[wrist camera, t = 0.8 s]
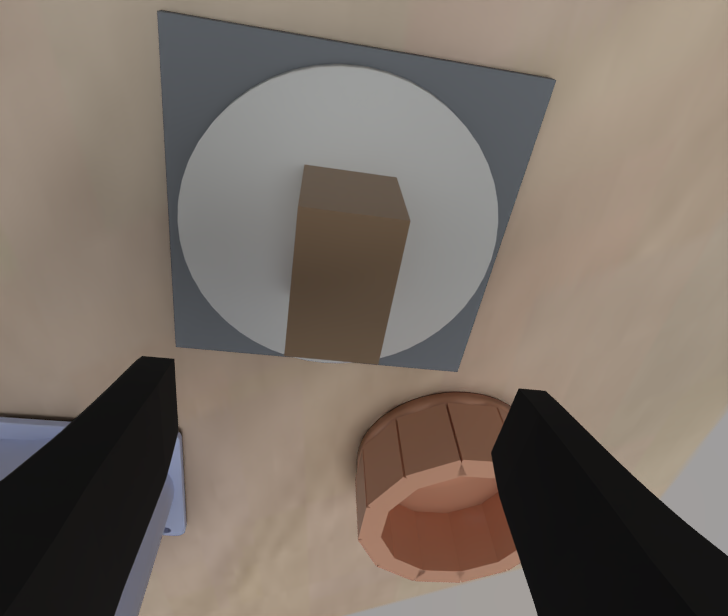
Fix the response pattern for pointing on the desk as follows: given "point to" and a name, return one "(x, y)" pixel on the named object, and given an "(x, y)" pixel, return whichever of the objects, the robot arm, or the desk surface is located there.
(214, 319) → the mat
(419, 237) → the lid
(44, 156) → the desk surface
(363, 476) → the bowl
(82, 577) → the robot arm
